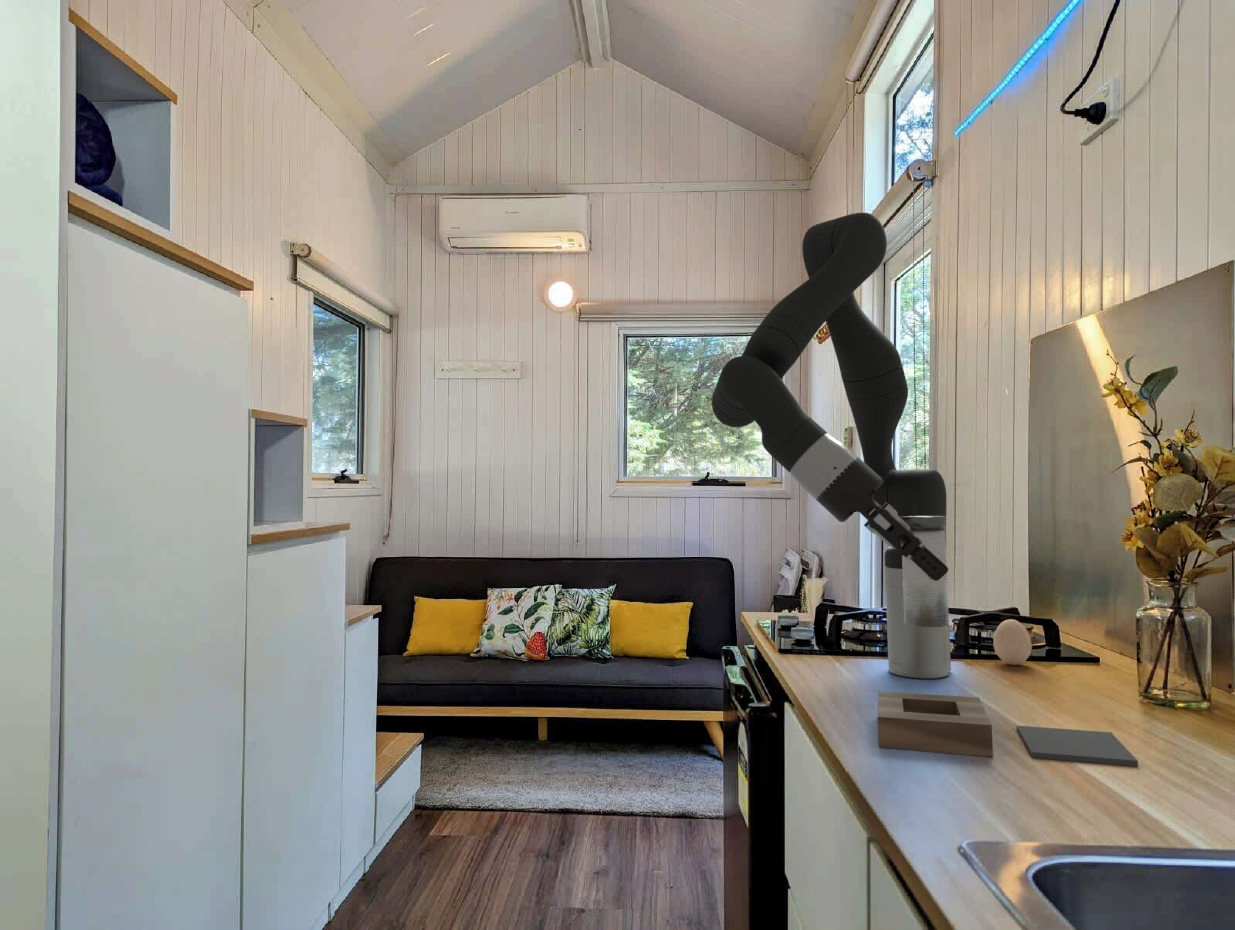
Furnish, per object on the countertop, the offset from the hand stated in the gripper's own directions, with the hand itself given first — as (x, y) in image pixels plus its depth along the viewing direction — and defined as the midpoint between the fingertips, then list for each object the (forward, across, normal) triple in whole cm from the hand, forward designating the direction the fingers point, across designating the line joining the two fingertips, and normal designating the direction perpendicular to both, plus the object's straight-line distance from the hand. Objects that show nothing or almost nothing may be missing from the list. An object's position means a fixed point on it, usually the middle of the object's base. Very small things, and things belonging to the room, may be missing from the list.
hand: (940, 572), depth 91 cm
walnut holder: (+13, 0, +15) cm, 20 cm away
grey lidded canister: (+3, 0, +6) cm, 6 cm away
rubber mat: (+23, 0, +5) cm, 24 cm away
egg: (+24, +44, +5) cm, 50 cm away
